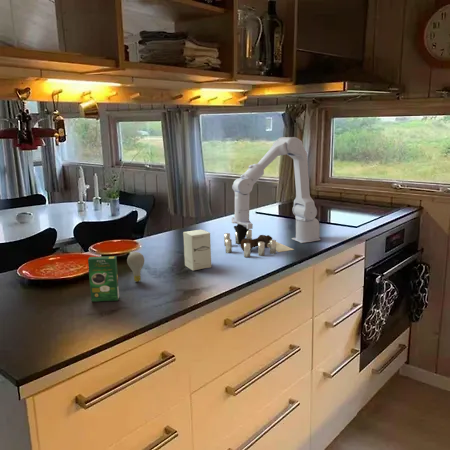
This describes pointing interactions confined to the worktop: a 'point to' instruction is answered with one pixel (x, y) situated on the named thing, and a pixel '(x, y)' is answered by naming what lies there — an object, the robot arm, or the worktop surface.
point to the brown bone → (256, 241)
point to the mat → (280, 247)
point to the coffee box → (103, 278)
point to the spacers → (248, 245)
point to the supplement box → (197, 249)
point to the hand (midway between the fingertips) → (241, 243)
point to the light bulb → (136, 264)
